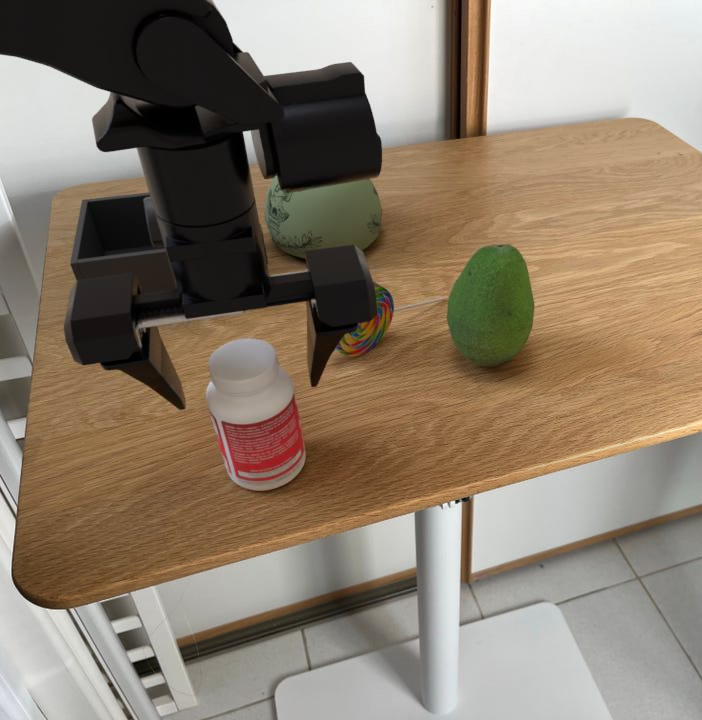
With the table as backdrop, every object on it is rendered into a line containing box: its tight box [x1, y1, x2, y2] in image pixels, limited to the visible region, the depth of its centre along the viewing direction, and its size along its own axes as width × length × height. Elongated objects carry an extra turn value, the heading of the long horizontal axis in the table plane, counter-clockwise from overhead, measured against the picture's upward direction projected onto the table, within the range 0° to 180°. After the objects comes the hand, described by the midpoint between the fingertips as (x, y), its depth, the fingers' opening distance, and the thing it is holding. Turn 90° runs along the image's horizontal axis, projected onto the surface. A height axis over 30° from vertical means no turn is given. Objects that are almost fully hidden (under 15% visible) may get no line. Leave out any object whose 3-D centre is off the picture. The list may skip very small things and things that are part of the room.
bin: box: [69, 191, 176, 294], centre depth 76 cm, size 12×12×7 cm
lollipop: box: [335, 280, 446, 358], centre depth 71 cm, size 7×2×15 cm
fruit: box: [446, 243, 535, 368], centre depth 66 cm, size 8×8×12 cm
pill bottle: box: [205, 338, 307, 492], centre depth 56 cm, size 6×6×11 cm
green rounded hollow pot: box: [264, 176, 383, 260], centre depth 83 cm, size 16×13×9 cm
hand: (249, 394), depth 54 cm, fingers open, 9 cm apart
